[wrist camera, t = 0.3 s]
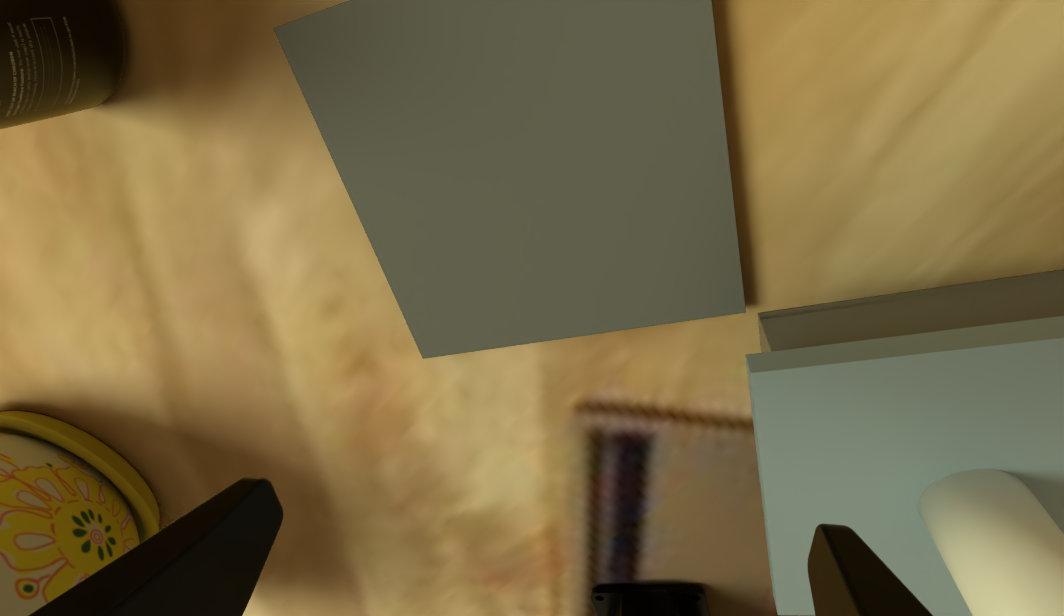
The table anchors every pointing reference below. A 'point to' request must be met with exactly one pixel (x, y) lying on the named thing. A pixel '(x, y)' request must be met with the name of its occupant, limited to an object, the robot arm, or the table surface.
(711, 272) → the mat
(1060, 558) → the lid
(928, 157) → the table surface
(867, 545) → the robot arm
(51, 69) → the supplement bottle
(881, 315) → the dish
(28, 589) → the flowerpot
